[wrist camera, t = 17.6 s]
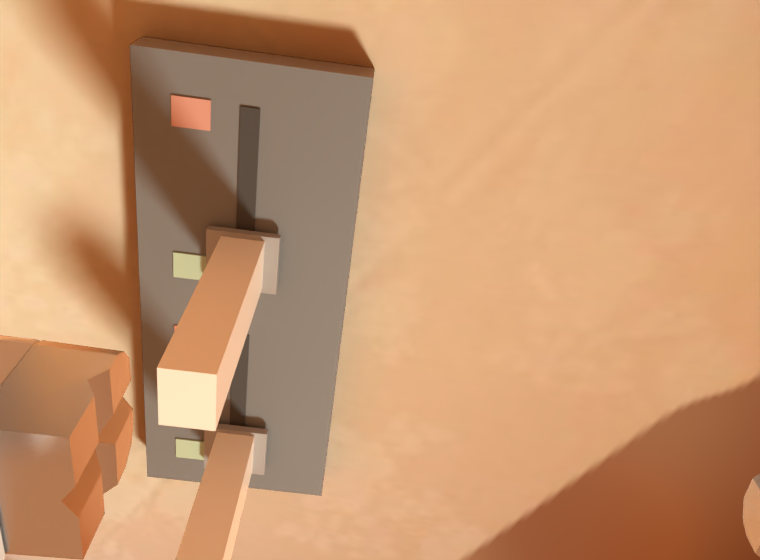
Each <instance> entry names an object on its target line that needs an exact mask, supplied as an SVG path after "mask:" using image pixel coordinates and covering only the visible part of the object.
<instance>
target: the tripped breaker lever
mask: <svg viewBox="0 0 760 560" xmlns="http://www.w3.org/2000/svg"><path fill="white" fill-rule="evenodd" d="M280 242H281V234H273V233H265V232H257V231H249V230H241V229H233V228H225V227H217V226H209V225H208V227H207V229H206V268H205V270H204V272H203V274H202V276H201V278H200V280H199V282H198V284H197V286H196V288H195V290H194V292H193V294H192V297H191V299H190V301H189V303H188V305H187V307H186V309H185V311H184V313H183V315H182V317H181V319H180V321H179V323H178V325H177V327H176V329H175V332H174V334H173V336H172V338H171V340H170V342H169V344H168V346H167V348H166V350H165V352H164V354H163V356H162V358H161V360H160V362H159V364H158V366H157V389H158V424H159V425H165V426H174V427H183V428H192V429H201V430H209V431H216V428H217V425H218V422H219V419H220V416H221V413H222V410H223V407H224V404H225V401H226V397H227V394H228V391H229V388H230V385H231V382H232V379H233V376H234V373H235V370H236V367H237V364H238V361H239V358H240V355H241V352H242V349H243V346H244V342H245V339H246V336H247V333H248V330H249V327H250V324H251V321H252V318H253V315H254V312H255V309H256V306H257V303H258V300H259V297H260V294H261V293H266V294H274V295H276V293H277V286H278V271H279V257H280Z"/></svg>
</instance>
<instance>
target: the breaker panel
mask: <svg viewBox="0 0 760 560" xmlns="http://www.w3.org/2000/svg"><path fill="white" fill-rule="evenodd" d="M130 63H131V88H132V112H133V136H134V161H135V185H136V210H137V234H138V258H139V283H140V307H141V332H142V356H143V380H144V405H145V429H146V454H147V476H148V477H157V478H166V479H175V480H184V481H193V482H201V480H202V477H203V474H204V471H205V469H204V430H201V429H192V428H183V427H174V426H165V425H159V424H158V389H157V366H158V364H159V362H160V360H161V358H162V356H163V354H164V352H165V350H166V348H167V346H168V344H169V342H170V340H171V338H172V336H173V334H174V332H175V329H176V327H177V325H178V323H179V321H180V319H181V317H182V315H183V313H184V311H185V309H186V307H187V305H188V303H189V301H190V299H191V297H192V294H193V292H194V290H195V288H196V286H197V284H198V282H199V280H200V278H201V276H202V274H203V272H204V270H205V268H206V229H207V227H208V225H209V226H217V227H225V228H233V229H241V230H249V231H257V232H265V233H273V234H281V242H280V257H279V271H278V286H277V293H276V295H274V294H266V293H261V294H260V297H259V300H258V303H257V306H256V309H255V312H254V315H253V318H252V321H251V324H250V327H249V330H248V333H247V336H246V339H245V342H244V346H243V349H242V352H241V355H240V358H239V361H238V364H237V367H236V370H235V373H234V376H233V379H232V382H231V385H230V388H229V391H228V394H227V397H226V401H225V404H224V407H223V410H222V413H221V416H220V419H219V422H218V423H219V424H228V425H237V426H245V427H254V428H263V429H268V439H267V453H266V468H265V474H264V475H258V474H251V478H250V482H249V486H248V488H256V489H265V490H274V491H283V492H292V493H301V494H310V495H319V496H322V488H323V480H324V472H325V464H326V456H327V447H328V439H329V431H330V423H331V415H332V407H333V399H334V391H335V383H336V375H337V367H338V359H339V351H340V343H341V335H342V327H343V319H344V311H345V302H346V294H347V286H348V278H349V270H350V262H351V254H352V246H353V238H354V230H355V222H356V214H357V206H358V198H359V190H360V182H361V174H362V166H363V157H364V149H365V141H366V133H367V125H368V117H369V109H370V101H371V93H372V85H373V77H374V69H375V68H369V67H361V66H354V65H347V64H339V63H332V62H325V61H317V60H310V59H303V58H295V57H288V56H281V55H274V54H266V53H259V52H252V51H244V50H237V49H230V48H222V47H215V46H208V45H201V44H193V43H186V42H179V41H171V40H164V39H157V38H149V37H141V38H139V39H138V40H136V41H135V42H133V43H132V44H130Z"/></svg>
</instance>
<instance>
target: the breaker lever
mask: <svg viewBox="0 0 760 560" xmlns="http://www.w3.org/2000/svg"><path fill="white" fill-rule="evenodd" d="M267 439H268V429H263V428H254V427H245V426H237V425H228V424H219V423H218V425H217V428H216V431H209V430H204V469H205V471H204V474H203V477H202V480H201V483H200V486H199V489H198V492H197V495H196V498H195V502H194V505H193V508H192V511H191V514H190V517H189V520H188V523H187V526H186V529H185V532H184V535H183V539H182V542H181V545H180V548H179V551H178V554H177V557H176V560H231V556H232V552H233V548H234V544H235V540H236V535H237V531H238V527H239V523H240V519H241V515H242V511H243V507H244V503H245V499H246V494H247V490H248V486H249V482H250V478H251V474H258V475H264V474H265V468H266V453H267Z"/></svg>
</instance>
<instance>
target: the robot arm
mask: <svg viewBox="0 0 760 560" xmlns="http://www.w3.org/2000/svg"><path fill="white" fill-rule="evenodd" d="M130 381H131V374H130V363H129V357H128V356H127V355H126V353H125V352H124V351H117V350H110V349H103V348H95V347H88V346H81V345H73V344H66V343H59V342H52V341H44V340H42V341H39V340H35V339H27V338H19V337H11V336H2V335H0V560H4V559H5V558H6V556H5V554H16V555H29V556H42V557H56V558H69V559H82V560H83V559H84V557H85V554H86V552H87V550H88V548H89V546H90V544H91V542H92V539H93V537H94V535H95V533H96V531H97V529H98V526H99V524H100V522H101V520H102V518H103V516H104V514H105V512H104V499H103V494H104V493H105V492H107V491H108V490H110V489H111V488H113V487H115V486H116V485H118V483H119V480H120V478H121V476H122V473H123V471H124V469H125V466H126V463H127V459H128V455H129V451H130V447H131V443H132V433H133V408H132V407H131V406H130V405H129V404H128V403H127V401H126V400H125V399H124V398H123V397H122V396H123V395H124V393H125V391H126V389H127V387H128V385H129V383H130ZM743 522H744V527H745V530H746V535H747V537H748V539H749V541H750V544H751V546H752V547H753V550H754V552H755V553H756V554H757V555H758V556H759V557H760V474H759V475H757V476H756V477H754V478H753V479H752V481H751V484H750V486H749V488H748V490H747V492H746V495H745V497H744V504H743Z"/></svg>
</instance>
